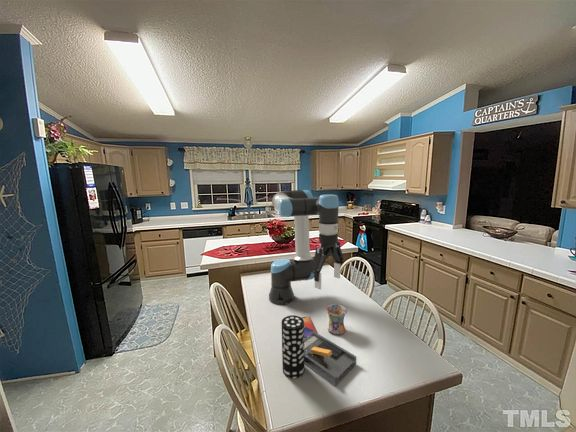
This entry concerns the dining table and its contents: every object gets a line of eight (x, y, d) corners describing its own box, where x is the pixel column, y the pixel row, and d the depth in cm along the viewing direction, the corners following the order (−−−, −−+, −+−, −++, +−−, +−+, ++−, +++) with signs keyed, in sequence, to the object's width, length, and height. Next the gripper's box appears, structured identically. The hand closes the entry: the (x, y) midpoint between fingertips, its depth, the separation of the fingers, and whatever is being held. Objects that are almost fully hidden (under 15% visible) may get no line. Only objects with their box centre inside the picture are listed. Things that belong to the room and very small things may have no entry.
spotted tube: (281, 362, 96) (280, 316, 92) (302, 360, 96) (302, 314, 93) (283, 379, 88) (282, 329, 84) (305, 377, 88) (305, 328, 85)
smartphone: (302, 339, 109) (302, 337, 109) (295, 319, 124) (295, 317, 124) (318, 337, 111) (318, 335, 110) (309, 318, 125) (309, 316, 125)
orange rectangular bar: (311, 352, 97) (310, 349, 97) (315, 350, 98) (314, 346, 98) (328, 357, 90) (327, 353, 90) (332, 354, 92) (331, 350, 92)
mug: (348, 335, 111) (349, 314, 109) (328, 336, 110) (328, 315, 108) (341, 320, 122) (341, 301, 121) (323, 321, 122) (323, 301, 120)
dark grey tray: (291, 353, 100) (291, 345, 99) (313, 337, 110) (313, 329, 109) (335, 386, 84) (335, 376, 84) (356, 364, 94) (356, 355, 93)
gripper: (316, 241, 86) (316, 296, 89) (352, 229, 103) (351, 275, 107) (300, 237, 91) (301, 290, 94) (337, 226, 108) (336, 271, 112)
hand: (327, 282), depth 101 cm, fingers open, 13 cm apart
